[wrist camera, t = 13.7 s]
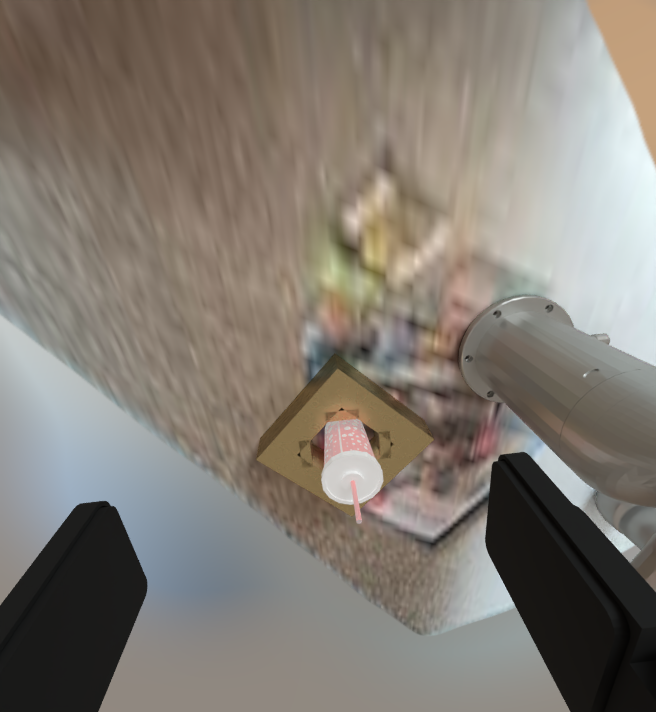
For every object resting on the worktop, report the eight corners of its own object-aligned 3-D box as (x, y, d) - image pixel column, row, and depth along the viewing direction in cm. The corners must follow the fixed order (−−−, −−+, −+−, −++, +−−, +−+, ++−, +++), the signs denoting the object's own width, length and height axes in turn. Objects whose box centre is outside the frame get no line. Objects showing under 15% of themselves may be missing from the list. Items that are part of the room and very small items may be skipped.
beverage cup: (328, 455, 46) (336, 555, 33) (311, 416, 43) (313, 506, 30) (375, 440, 45) (402, 535, 32) (360, 399, 43) (383, 484, 30)
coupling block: (334, 353, 40) (337, 368, 37) (423, 419, 44) (434, 439, 41) (260, 438, 44) (256, 459, 40) (348, 492, 48) (352, 516, 44)
